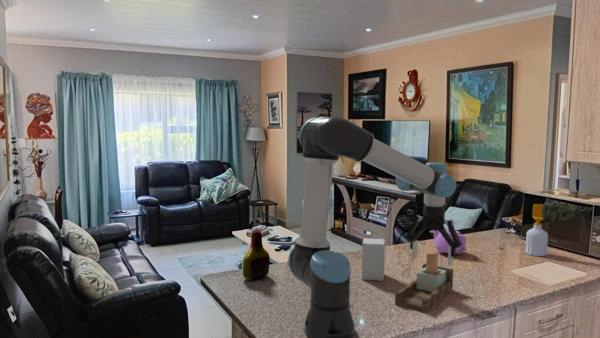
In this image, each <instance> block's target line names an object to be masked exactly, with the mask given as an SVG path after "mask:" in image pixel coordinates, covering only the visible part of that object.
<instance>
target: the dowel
mask: <svg viewBox="0 0 600 338" xmlns="http://www.w3.org/2000/svg"><path fill="white" fill-rule="evenodd" d="M425 264H426V273H429V274H433V275H437V272H438V265H439V253H438V252H436V251H427V252H426V263H425Z"/></svg>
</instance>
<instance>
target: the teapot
mask: <svg viewBox="0 0 600 338" xmlns="http://www.w3.org/2000/svg"><path fill="white" fill-rule="evenodd" d="M446 231H447V233H448V234H449V235H450V237H451V238H452V236H451V233H450V231H449V229H448V227H447V229H446ZM456 233H457V235H458V237H459V240H460V242H461V246H460V247H458V248H456V253H455V255H459V254H460V255H462V253H463V252H466V251H467V247H466V243H467V238H466V237H465V235H463V234H462V233H461V232H460V231H458V230H456ZM433 239H434V248H435V249H436V251H437V253H438V254H441V253H442V254H448V249H449V248H450V245H449V244H448V243H447V241H446V240H445V238H444V237H443V236H442V234H441V233H440V232H439V231H438V230H437V231H434V230H433ZM452 240H453V238H452Z"/></svg>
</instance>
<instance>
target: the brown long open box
mask: <svg viewBox="0 0 600 338" xmlns="http://www.w3.org/2000/svg"><path fill="white" fill-rule="evenodd" d="M426 264H427V263H424V264H422V269H423V268H425V267H426ZM438 269H441V270H445V271H447V272H446V282H445V283H444V284H442V285H441V286H440V287H439V288H437V289H436V290H435V291H433V292H429V291H425V290H421V289H417V288H416V287H417V278H416V279H415V280H413V281H411V282H410V283H408V284H407V285H406V286H404V287H403V288H401V289H399V290H398V291H396V292H395V293H394V304H395V305H396V306H401V307H403V308H407V309H411V310H415V311H418V312H422V313H427V312H428V311H429V310H430V309H432V308H433V307H434V306H435V305H436V304H438V303H439V302H440V301H441V300H442V299H444V298H445V297H446V296H447V295H448V294H449V293H451V292H452V291H453V281H454V280H453V279H454V269H453V268H449V267H448V268H447V267H444V266H443V267H442V266H438Z"/></svg>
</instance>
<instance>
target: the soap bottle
mask: <svg viewBox="0 0 600 338" xmlns="http://www.w3.org/2000/svg"><path fill="white" fill-rule="evenodd" d="M544 206H545V204H543V203H541V204H539V203H534V204H533V205H532V218H533V219H534V220H535V222H533V227H532V228H529V230H527V231H526V239H525V253H526V254H527V255H529V256H534V257H545V256H547V254H548V239H549V234H548V232H547V231H545V230H544V229H543V228H542V223H541V222H542V220H543V221H544V217H543V207H544Z"/></svg>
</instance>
